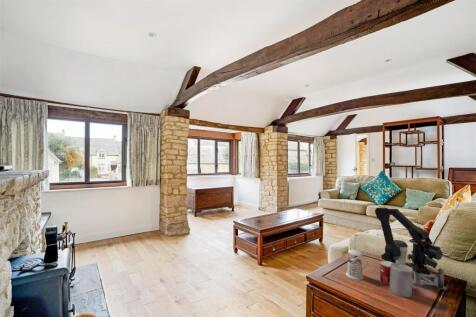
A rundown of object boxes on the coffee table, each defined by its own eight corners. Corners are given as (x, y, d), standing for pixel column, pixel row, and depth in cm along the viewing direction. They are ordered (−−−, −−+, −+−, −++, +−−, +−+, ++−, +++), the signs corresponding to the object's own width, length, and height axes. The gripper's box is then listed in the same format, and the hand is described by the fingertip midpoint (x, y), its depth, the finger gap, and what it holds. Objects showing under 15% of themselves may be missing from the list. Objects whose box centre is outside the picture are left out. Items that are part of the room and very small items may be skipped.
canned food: (381, 277, 138) (382, 259, 138) (397, 283, 133) (398, 264, 133) (378, 282, 133) (378, 263, 133) (394, 288, 127) (395, 268, 127)
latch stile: (414, 286, 130) (415, 271, 130) (412, 283, 133) (412, 268, 133) (422, 287, 129) (422, 272, 129) (419, 284, 132) (420, 269, 132)
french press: (344, 270, 147) (346, 230, 147) (365, 273, 143) (366, 233, 143) (346, 277, 137) (347, 235, 137) (368, 281, 133) (369, 238, 133)
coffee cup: (402, 260, 164) (402, 239, 164) (410, 266, 155) (411, 243, 155) (388, 259, 165) (389, 238, 165) (396, 265, 156) (396, 242, 156)
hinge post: (438, 288, 128) (438, 269, 128) (434, 285, 132) (435, 266, 132) (447, 290, 127) (447, 270, 127) (442, 286, 131) (443, 267, 131)
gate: (436, 284, 130) (436, 274, 130) (437, 285, 129) (437, 275, 129) (414, 281, 133) (414, 271, 133) (415, 282, 132) (415, 272, 132)
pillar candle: (390, 285, 130) (391, 258, 130) (412, 291, 124) (413, 264, 124) (388, 292, 123) (389, 264, 123) (411, 300, 117) (412, 270, 117)
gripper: (443, 262, 123) (441, 290, 123) (430, 247, 140) (428, 273, 141) (417, 258, 127) (415, 285, 128) (407, 244, 144) (406, 269, 145)
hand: (417, 278), depth 135 cm, fingers closed
